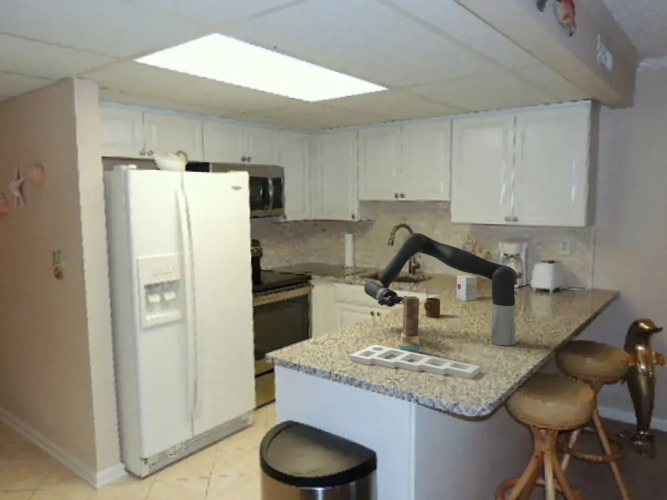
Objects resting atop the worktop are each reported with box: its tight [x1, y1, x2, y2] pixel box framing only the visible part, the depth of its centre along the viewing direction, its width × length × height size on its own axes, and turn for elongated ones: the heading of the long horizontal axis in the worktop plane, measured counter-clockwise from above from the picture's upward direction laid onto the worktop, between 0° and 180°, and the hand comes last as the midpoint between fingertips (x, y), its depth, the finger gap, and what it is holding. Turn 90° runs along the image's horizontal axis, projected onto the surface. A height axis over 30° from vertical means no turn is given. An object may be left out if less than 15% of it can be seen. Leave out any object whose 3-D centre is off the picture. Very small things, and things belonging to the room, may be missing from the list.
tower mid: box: [400, 331, 420, 347], centre depth 198 cm, size 6×6×4 cm
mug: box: [423, 297, 441, 318], centre depth 262 cm, size 12×8×9 cm, turn 138°
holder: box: [349, 344, 481, 380], centre depth 183 cm, size 45×18×3 cm, turn 52°
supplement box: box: [456, 274, 478, 302], centre depth 310 cm, size 9×9×15 cm
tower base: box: [398, 341, 420, 354], centre depth 199 cm, size 7×7×4 cm
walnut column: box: [402, 295, 420, 336], centre depth 197 cm, size 5×5×15 cm
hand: (400, 304), depth 207 cm, fingers open, 8 cm apart
